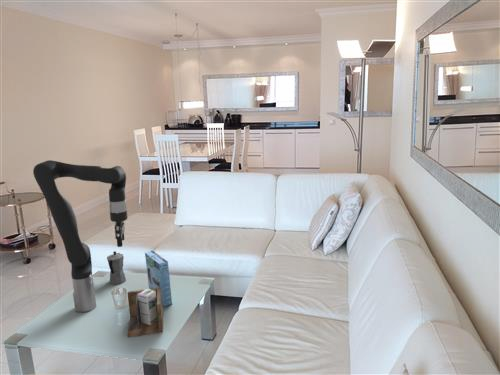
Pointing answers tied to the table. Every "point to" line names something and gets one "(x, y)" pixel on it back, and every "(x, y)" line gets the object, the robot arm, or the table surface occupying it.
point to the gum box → (159, 276)
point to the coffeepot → (116, 268)
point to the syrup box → (148, 306)
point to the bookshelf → (135, 320)
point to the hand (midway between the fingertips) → (121, 243)
